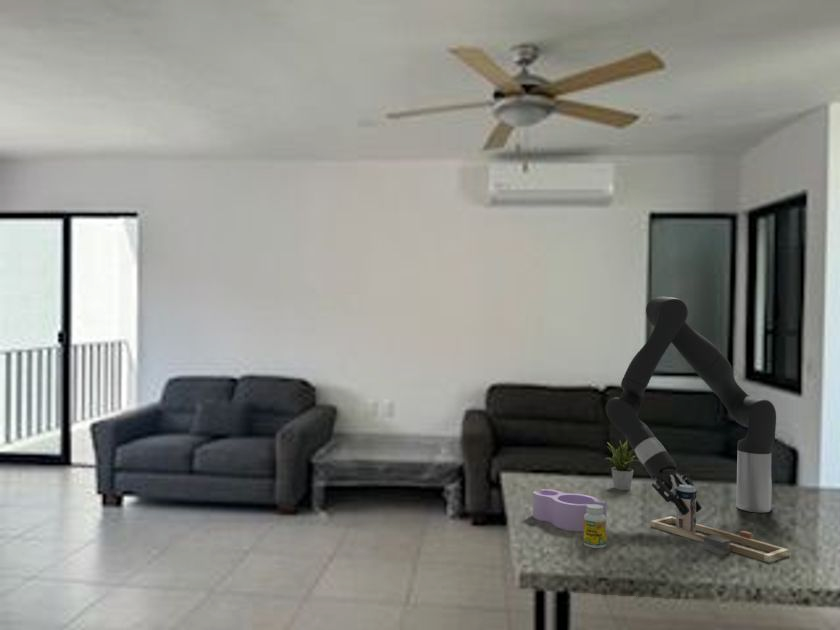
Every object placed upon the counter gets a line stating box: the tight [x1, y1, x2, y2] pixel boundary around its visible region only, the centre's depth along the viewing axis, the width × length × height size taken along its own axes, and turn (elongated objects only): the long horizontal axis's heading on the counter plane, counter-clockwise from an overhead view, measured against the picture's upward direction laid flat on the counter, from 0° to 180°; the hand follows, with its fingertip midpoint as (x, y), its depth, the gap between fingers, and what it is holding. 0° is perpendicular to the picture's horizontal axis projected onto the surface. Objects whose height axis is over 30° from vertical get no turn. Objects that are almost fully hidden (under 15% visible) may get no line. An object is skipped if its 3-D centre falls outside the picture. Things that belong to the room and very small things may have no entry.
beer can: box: [675, 484, 697, 533], centre depth 182 cm, size 5×5×12 cm
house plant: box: [604, 438, 641, 491], centre depth 228 cm, size 14×14×16 cm
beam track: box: [650, 515, 790, 563], centre depth 174 cm, size 15×32×3 cm, turn 35°
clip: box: [532, 488, 608, 532], centre depth 188 cm, size 20×12×7 cm, turn 45°
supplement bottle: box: [583, 504, 607, 549], centre depth 169 cm, size 5×5×10 cm
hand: (692, 511), depth 180 cm, fingers closed on beer can, 4 cm apart
